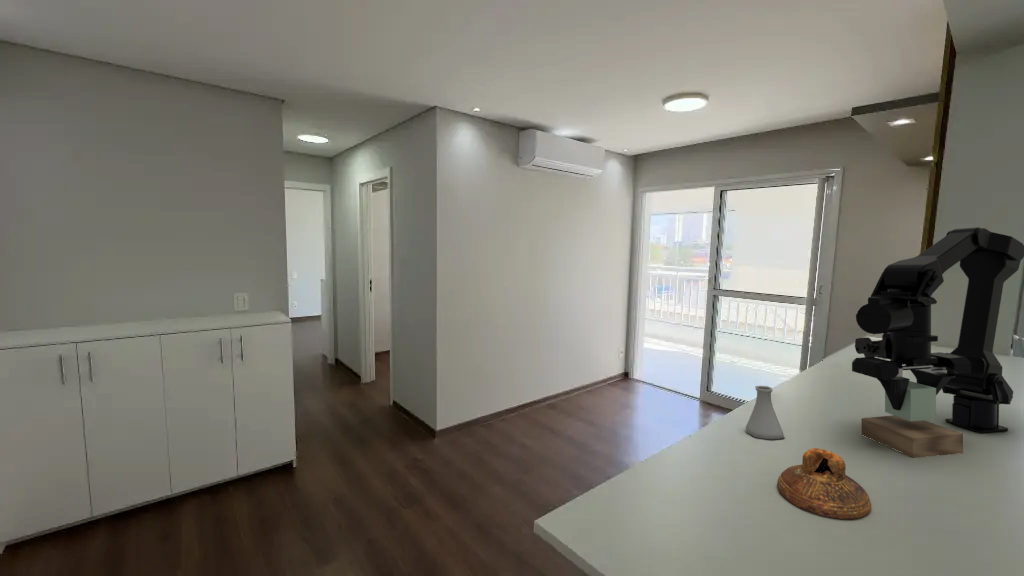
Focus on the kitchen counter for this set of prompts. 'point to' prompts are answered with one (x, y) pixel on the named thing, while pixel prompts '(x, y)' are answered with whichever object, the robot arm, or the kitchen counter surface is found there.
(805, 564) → the kitchen counter surface
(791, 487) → the brown clay lid
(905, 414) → the sage cube
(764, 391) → the flask
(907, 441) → the walnut block
